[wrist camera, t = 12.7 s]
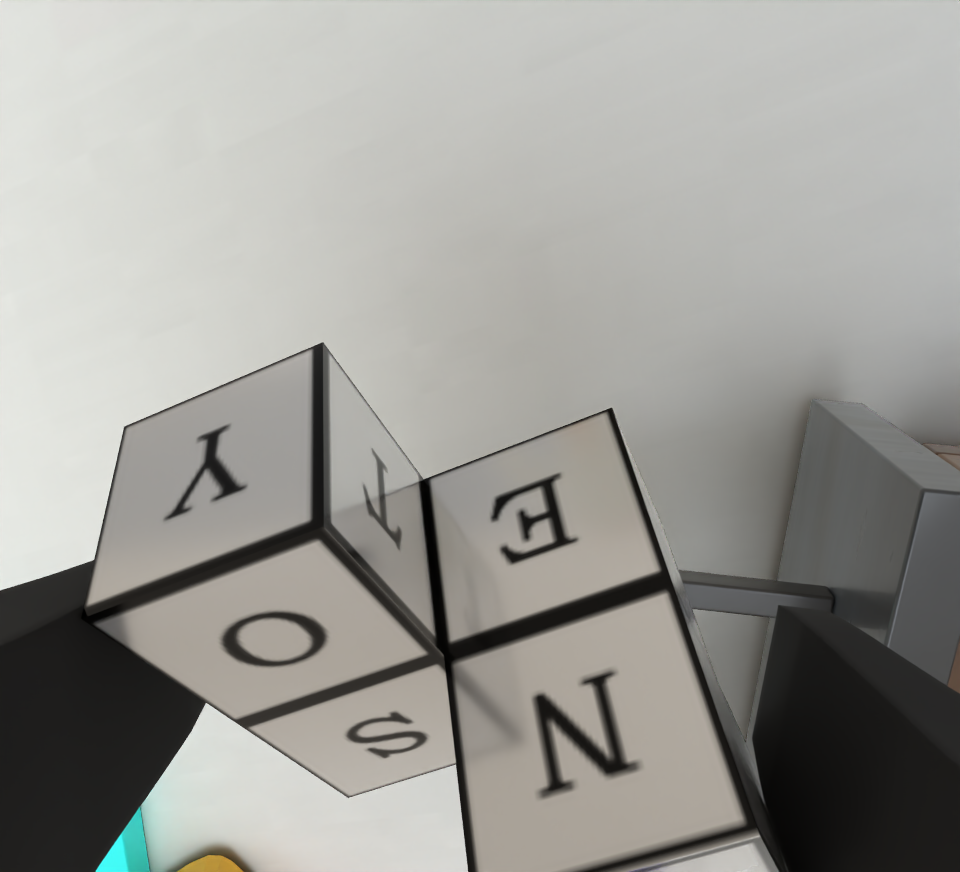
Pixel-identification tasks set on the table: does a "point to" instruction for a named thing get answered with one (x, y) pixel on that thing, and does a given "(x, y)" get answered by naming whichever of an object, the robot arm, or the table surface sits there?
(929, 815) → the robot arm
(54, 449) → the table surface
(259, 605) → the building blocks
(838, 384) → the table surface
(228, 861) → the orange and yellow toy
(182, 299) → the table surface
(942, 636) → the drawer
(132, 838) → the handheld game console
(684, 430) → the table surface
